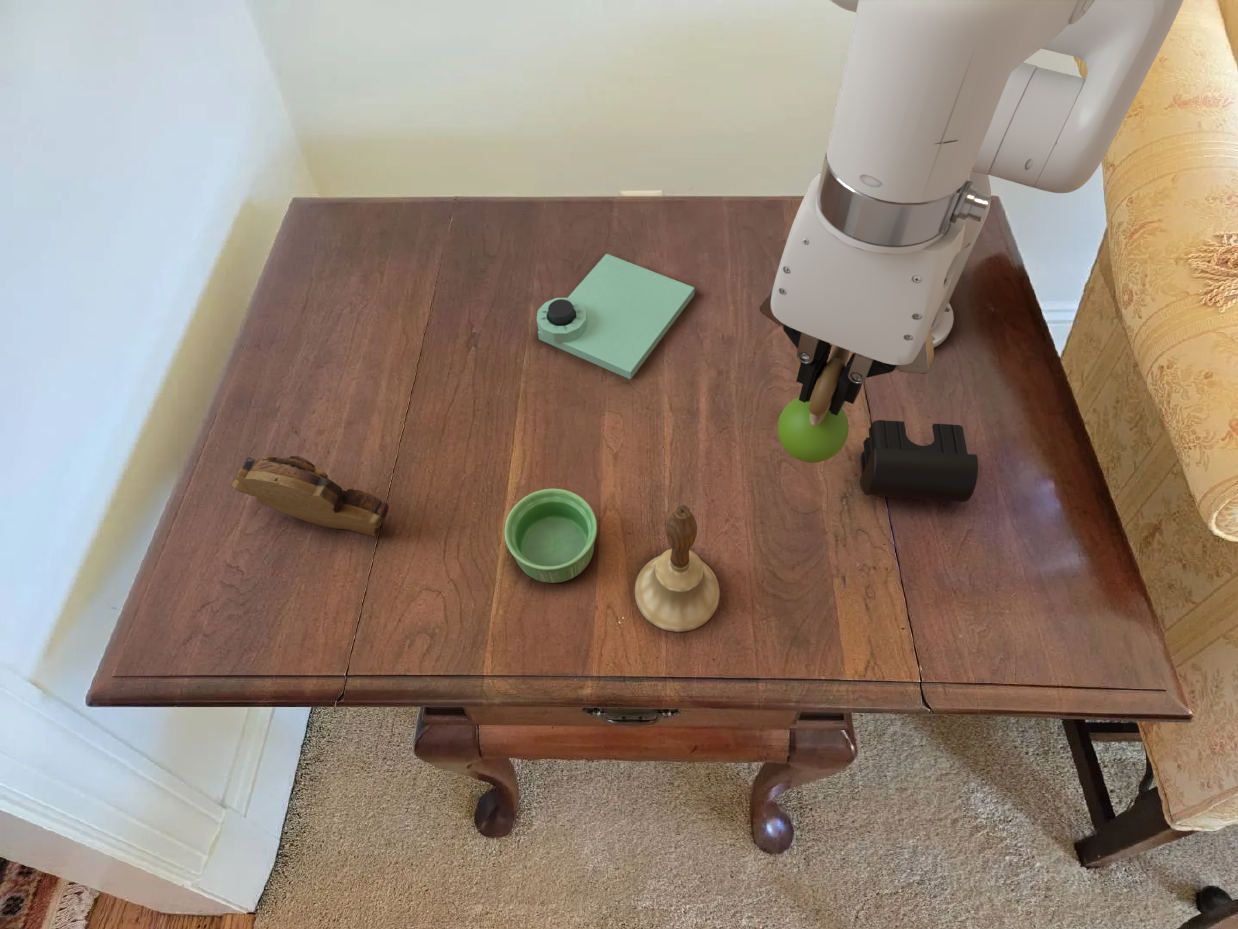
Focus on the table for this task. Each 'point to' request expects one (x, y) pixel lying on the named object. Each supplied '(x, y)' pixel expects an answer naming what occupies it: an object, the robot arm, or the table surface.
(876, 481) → the end cap
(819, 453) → the snail figurine
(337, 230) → the table surface
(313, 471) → the wooden carving
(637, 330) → the scale
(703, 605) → the hand bell
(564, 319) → the button
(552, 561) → the ramekin
